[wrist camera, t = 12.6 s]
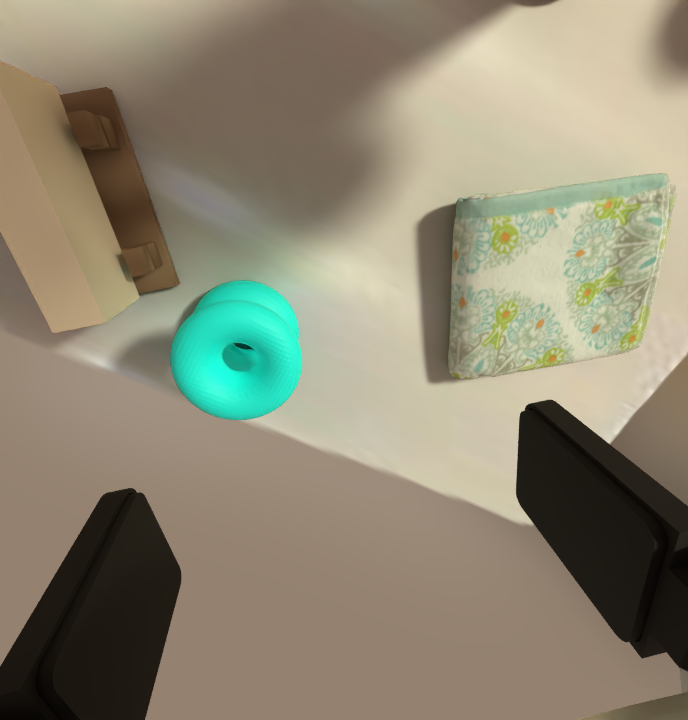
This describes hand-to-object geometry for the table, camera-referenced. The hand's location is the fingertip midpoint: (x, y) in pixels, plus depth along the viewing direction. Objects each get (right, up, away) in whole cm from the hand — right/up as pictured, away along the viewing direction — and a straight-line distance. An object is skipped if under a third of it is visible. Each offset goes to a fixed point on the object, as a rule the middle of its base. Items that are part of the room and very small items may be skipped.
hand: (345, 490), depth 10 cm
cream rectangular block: (-20, +15, +20) cm, 32 cm away
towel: (+21, +12, +32) cm, 40 cm away
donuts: (-10, +6, +29) cm, 31 cm away
